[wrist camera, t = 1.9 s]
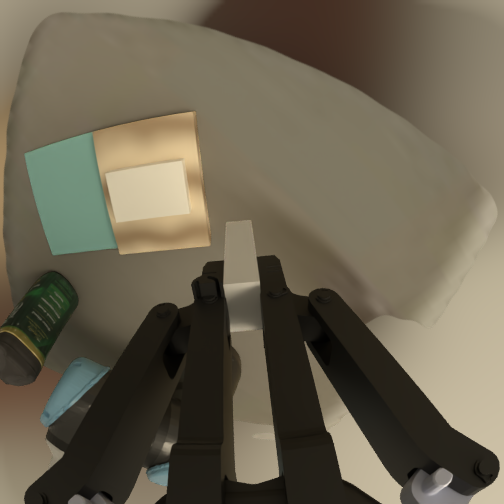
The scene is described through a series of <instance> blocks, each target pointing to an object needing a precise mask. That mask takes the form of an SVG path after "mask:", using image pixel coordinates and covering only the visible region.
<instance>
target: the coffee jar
mask: <svg viewBox="0 0 504 504" xmlns="http://www.w3.org/2000/svg"><path fill="white" fill-rule="evenodd" d="M77 305H78V296H77V294H76V292H75V290H74V288H73V287H72V286H71V284H70V283H69V282H68V281H67V280H66V279H65V278H64V277H63V276H61V275H60V274H58V273H56V272H50V273H47V274H45V275H43V276H42V277H41V278H39V279H38V280H37V281H36V282H35V283H34V285H33V286H32V287H31V288H30V290H29V291H28V292H27V293H26V295H25V296H24V297H23V298H22V300H21V301H20V302H19V303H18V304H17V306H16V307H15V308H14V310H13V311H12V312H11V314H10V315H9V316H8V318H7V319H6V321H5V322H4V323H3V325H2V326H1V327H0V379H1V380H2V381H3V382H5V383H6V384H11V385H15V386H23V385H27V384H30V383H32V382H34V381H35V379H36V378H37V376H38V375H39V373H40V371H41V369H42V367H43V365H44V362H45V360H46V357H47V355H48V353H49V352H50V350H51V348H52V346H53V344H54V343H55V341H56V339H57V337H58V336H59V334H60V332H61V331H62V329H63V327H64V326H65V324H66V323H67V321H68V320H69V318H70V317H71V315H72V313H73V312H74V310H75V309H76V307H77Z"/></svg>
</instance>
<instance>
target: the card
mask: <svg viewBox="0 0 504 504" xmlns="http://www.w3.org/2000/svg"><path fill="white" fill-rule="evenodd" d="M105 175H106V180H107V185H108V190H109V194H110V199H111V203H112V207H113V211H114V215H115V219H116V223H118V222H125V221H133V220H141V219H148V218H156V217H165V216H173V215H182V214H190V212H191V209H192V208H191V201H190V195H189V188H188V181H187V174H186V167H185V159H184V158H180V159H173V160H166V161H159V162H153V163H147V164H141V165H136V166H130V167H125V168H119V169H114V170H110V171H109V172H107V173H105Z"/></svg>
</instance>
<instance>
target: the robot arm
mask: <svg viewBox="0 0 504 504" xmlns="http://www.w3.org/2000/svg"><path fill="white" fill-rule="evenodd" d="M191 286H192V291H193V295H194V299H195V300H194V303H193V304H191V305H189V306H186V307H183V308H180V309H178V308H177V306H176V305H175V304H172V303H162V304H158V305H157V306H155V307H153V308H152V309H151V310H150V312H149V313H148V315H147V316H146V318H145V319H144V321H143V322H142V324H141V325H140V327H139V329H138V330H137V332H136V333H135V335H134V336H133V338H132V339H131V341H130V343H129V344H128V346H127V347H126V349H125V350H124V352H123V354H122V355H121V357H120V358H119V360H118V362H117V363H116V365H115V366H114V368H113V370H110V367H108V366H107V367H105V366H102V365H100V364H98V363H96V362H94V361H92V360H90V359H87V358H84V357H80V358H77V359H75V360H74V361H72V362H71V364H70V365H69V367H68V368H67V369H66V371H65V372H64V374H63V376H62V378H61V379H60V380H59V382H58V384H57V386H56V387H55V389H54V391H53V393H52V395H51V396H50V398H49V400H48V402H47V404H46V406H45V409H44V411H43V413H42V415H41V417H40V421H41V423H42V424H43V425H44V426H45V427H49V428H48V432H47V435H46V438H45V440H46V442H47V444H48V446H49V448H50V450H51V452H52V458H51V462H50V465H49V469H48V471H46V472H45V473H44V474H43V475H42V476H41V477H40V478H39V479H38V480H37V481H35V482H34V483H33V484H32V485H31V486H30V487H29V488H28V489H27V491H26V492H25V497H24V501H25V504H124V503H125V502H126V500H127V499H128V497H129V496H130V494H131V492H132V489H133V488H134V485H135V483H136V481H137V478H138V475H139V473H140V471H141V468H142V467H144V468H147V469H148V470H147V471H146V474H147V477H148V479H149V480H150V481H151V482H155V483H156V484H159V485H163V486H167V494H166V495H164V496H163V497H162V498H161V499H159V500H158V501H157V502H156V503H155V504H381V503H380V502H378V501H377V500H375V499H374V498H372V497H371V496H369V495H368V494H366V493H365V492H363V491H362V490H360V489H359V488H357V487H356V486H354V485H353V484H351V483H349V482H347V481H345V480H342V477H341V473H340V469H339V465H338V460H337V456H336V451H335V447H334V443H333V440H332V437H331V435H330V433H329V432H327V431H326V428H325V425H324V420H323V416H322V412H321V408H320V404H319V399H318V395H317V391H316V387H315V383H314V379H313V375H312V371H311V367H310V363H309V359H308V355H307V351H306V347H305V344H304V341H306V343H307V346H308V347H309V349H310V350H311V352H312V353H313V355H314V357H315V358H316V360H317V361H318V363H319V365H320V366H321V368H322V369H323V371H324V372H325V374H326V376H327V377H328V379H329V380H330V382H331V383H332V385H333V387H334V388H335V390H336V391H337V393H338V394H339V396H340V398H341V399H342V401H343V402H344V404H345V406H346V407H347V409H348V410H349V412H350V413H351V415H352V417H353V418H354V420H355V421H356V423H357V424H358V426H359V428H360V429H361V431H362V432H363V434H364V435H365V437H366V438H367V440H368V442H369V443H370V445H371V446H372V448H373V449H374V451H375V453H376V454H377V456H378V457H379V459H380V460H381V462H382V464H383V465H384V467H385V468H386V469H387V471H388V472H389V473H390V475H391V476H392V477H393V478H394V479H395V480H396V481H397V482H398V484H400V485H401V486H402V487H403V488H402V490H401V493H400V500H401V503H402V504H468V503H469V501H470V500H471V498H472V497H473V495H475V494H476V493H477V492H479V491H481V490H482V489H484V488H486V487H487V486H489V485H490V484H492V483H493V482H494V481H495V479H496V478H497V476H498V472H499V469H500V467H499V460H498V458H497V456H496V455H495V454H494V453H493V452H491V451H490V450H488V449H486V448H485V447H483V446H481V445H479V444H478V443H476V442H475V441H473V440H471V439H470V438H468V437H466V436H465V435H463V434H462V433H460V432H458V431H457V430H455V429H453V428H452V427H451V426H450V425H449V424H448V423H447V421H446V420H445V419H444V418H443V416H442V415H441V414H440V413H439V411H438V410H437V409H436V408H435V407H434V405H433V404H432V403H431V402H430V400H429V399H428V398H427V397H426V395H425V394H424V393H423V392H422V391H421V390H420V388H419V387H418V386H417V385H416V384H415V382H414V381H413V380H412V379H411V378H410V376H409V375H408V374H407V373H406V372H405V370H404V369H403V368H402V367H401V366H400V365H399V363H398V362H397V361H396V360H395V359H394V357H393V356H392V355H391V354H390V353H389V352H388V351H387V349H386V348H385V347H384V346H383V345H382V343H381V342H380V341H379V340H378V339H377V338H376V337H375V335H373V333H372V332H371V331H370V330H369V329H368V327H366V325H365V324H364V323H363V322H362V321H361V319H360V318H359V317H358V316H357V315H356V314H355V313H354V312H353V310H352V309H351V308H350V307H349V306H348V305H347V304H346V303H345V302H344V300H343V299H342V298H341V297H340V296H339V295H338V294H337V293H336V292H335V291H333V290H330V289H326V288H320V289H316V290H313V291H312V292H311V293H310V294H309V297H308V296H300V295H296V294H293V293H292V292H291V291H290V289H289V288H288V287H287V285H286V282H285V278H284V274H283V271H282V267H281V263H280V260H279V259H278V258H277V257H276V256H275V255H271V256H260V257H256V251H255V244H254V237H253V230H252V223H251V220H245V221H234V222H226V235H225V255H224V260H223V261H212V262H207V263H206V265H205V266H204V267H203V271H202V276H200V277H198V278H196V279H195V280H193V282H192V284H191ZM259 329H263V340H264V348H265V356H266V364H267V372H268V381H269V389H270V398H271V406H272V415H273V423H274V431H275V440H276V448H277V456H278V466H279V477H278V478H275V479H272V480H269V481H265V482H262V483H259V484H246V483H241V482H237V479H236V473H235V460H234V432H233V395H234V393H235V390H236V387H237V385H238V382H239V380H240V377H241V360H240V357H239V355H238V353H237V352H236V350H235V349H234V348H233V347H232V346H231V335H230V331H231V332H236V331H248V330H259Z"/></svg>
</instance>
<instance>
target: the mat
mask: <svg viewBox="0 0 504 504" xmlns="http://www.w3.org/2000/svg"><path fill="white" fill-rule="evenodd" d="M93 132H94V131H93ZM25 159H26V164H27V169H28V174H29V178H30V182H31V186H32V190H33V194H34V198H35V202H36V205H37V209H38V212H39V216H40V219H41V222H42V225H43V228H44V231H45V235H46V238H47V240H48V243H49V246H50V249H51V252H52V255H60V254H69V253H77V252H86V251H94V250H103V249H112V248H118V246H117V242H116V239H115V235H114V232H113V228H112V224H111V220H110V216H109V212H108V208H107V204H106V200H105V196H104V191H103V187H102V182H101V177H100V173H99V168H98V162H97V157H96V152H95V146H94V140H93V133H92V132H90V133H86V134H83V135H79V136H76V137H72V138H69V139H66V140H63V141H60V142H56V143H53V144H50V145H47V146H45V147H42V148H39V149H36V150H33V151H31V152H28V153H25Z"/></svg>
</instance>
